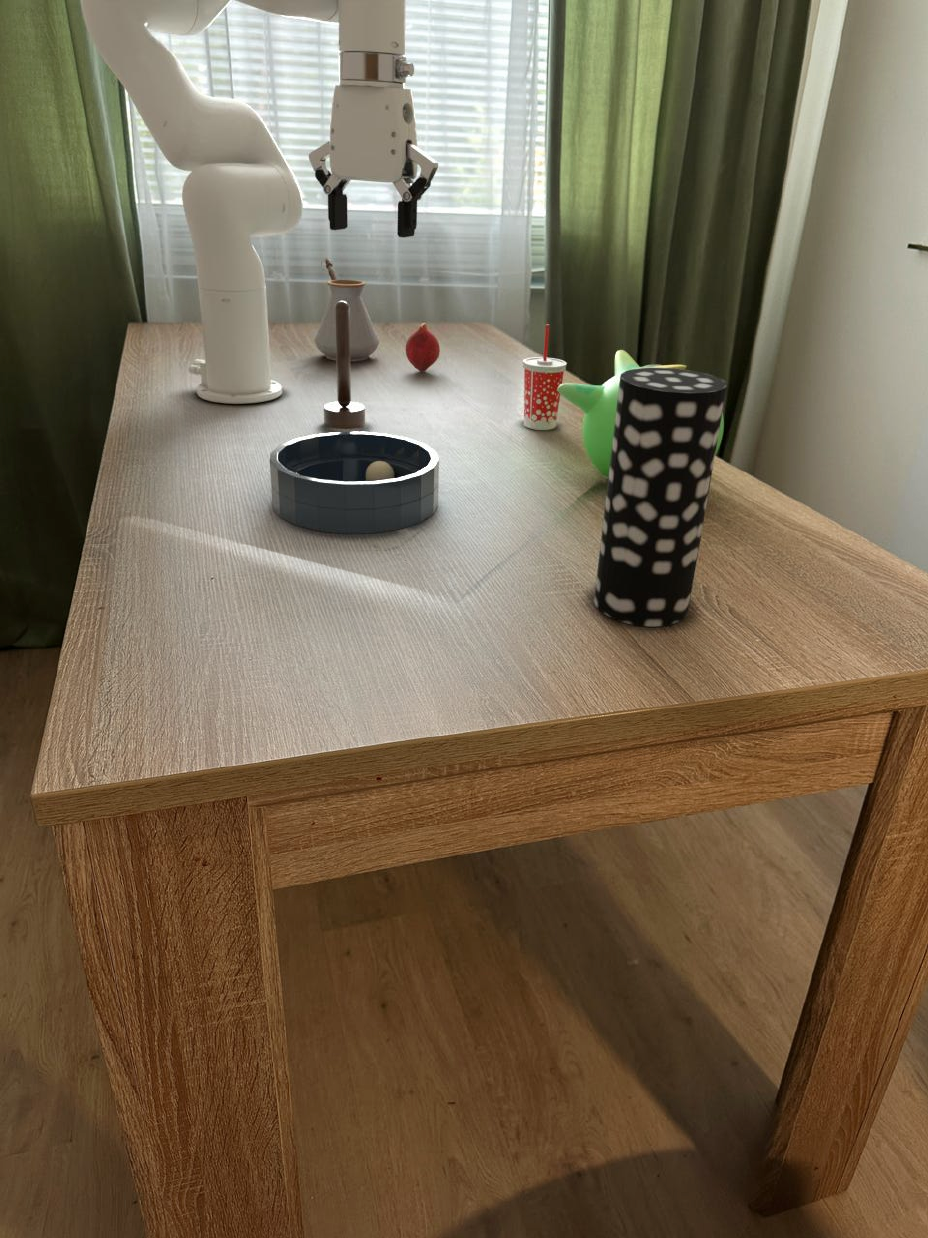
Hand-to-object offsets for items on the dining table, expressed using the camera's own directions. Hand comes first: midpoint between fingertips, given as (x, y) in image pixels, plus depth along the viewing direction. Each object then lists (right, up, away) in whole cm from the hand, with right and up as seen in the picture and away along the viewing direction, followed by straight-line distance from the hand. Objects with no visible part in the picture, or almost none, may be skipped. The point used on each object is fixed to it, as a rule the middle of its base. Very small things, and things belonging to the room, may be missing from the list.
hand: (371, 232), depth 114 cm
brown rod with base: (-5, -22, +12) cm, 25 cm away
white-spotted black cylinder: (+27, -47, -32) cm, 63 cm away
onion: (+4, -6, +44) cm, 45 cm away
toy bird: (+33, -32, -3) cm, 46 cm away
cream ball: (+2, -33, -11) cm, 35 cm away
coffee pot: (-11, +1, +56) cm, 57 cm away
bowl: (0, -36, -15) cm, 39 cm away
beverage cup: (+22, -21, +17) cm, 35 cm away
